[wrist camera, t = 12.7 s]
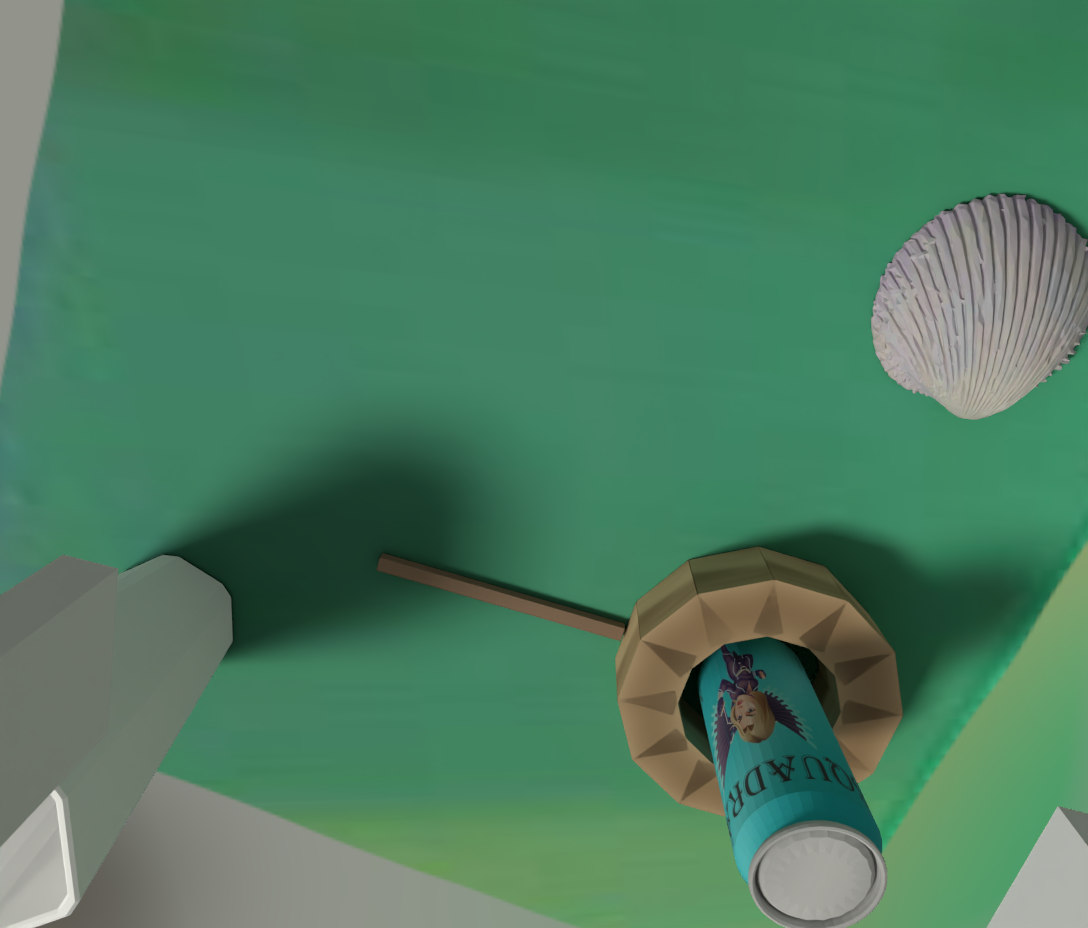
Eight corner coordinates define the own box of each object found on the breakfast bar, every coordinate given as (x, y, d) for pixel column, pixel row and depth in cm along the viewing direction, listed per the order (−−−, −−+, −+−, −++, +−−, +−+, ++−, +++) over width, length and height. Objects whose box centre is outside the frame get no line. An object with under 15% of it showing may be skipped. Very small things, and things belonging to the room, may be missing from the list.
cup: (80, 513, 43) (-228, 690, 27) (259, 532, 43) (55, 724, 27) (98, 685, 47) (-166, 934, 31) (263, 704, 47) (85, 966, 30)
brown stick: (382, 553, 43) (379, 557, 42) (624, 623, 43) (624, 628, 43) (379, 565, 43) (376, 570, 43) (620, 635, 44) (620, 640, 43)
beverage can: (757, 600, 42) (839, 794, 28) (817, 672, 44) (926, 894, 29) (673, 657, 44) (711, 869, 30) (733, 725, 45) (798, 962, 31)
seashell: (870, 432, 36) (928, 213, 31) (842, 384, 41) (888, 187, 36) (1097, 446, 36) (1193, 224, 31) (1042, 395, 40) (1118, 196, 35)
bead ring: (666, 519, 41) (673, 550, 38) (915, 592, 42) (947, 630, 38) (588, 730, 46) (588, 777, 42) (814, 795, 46) (834, 847, 42)
